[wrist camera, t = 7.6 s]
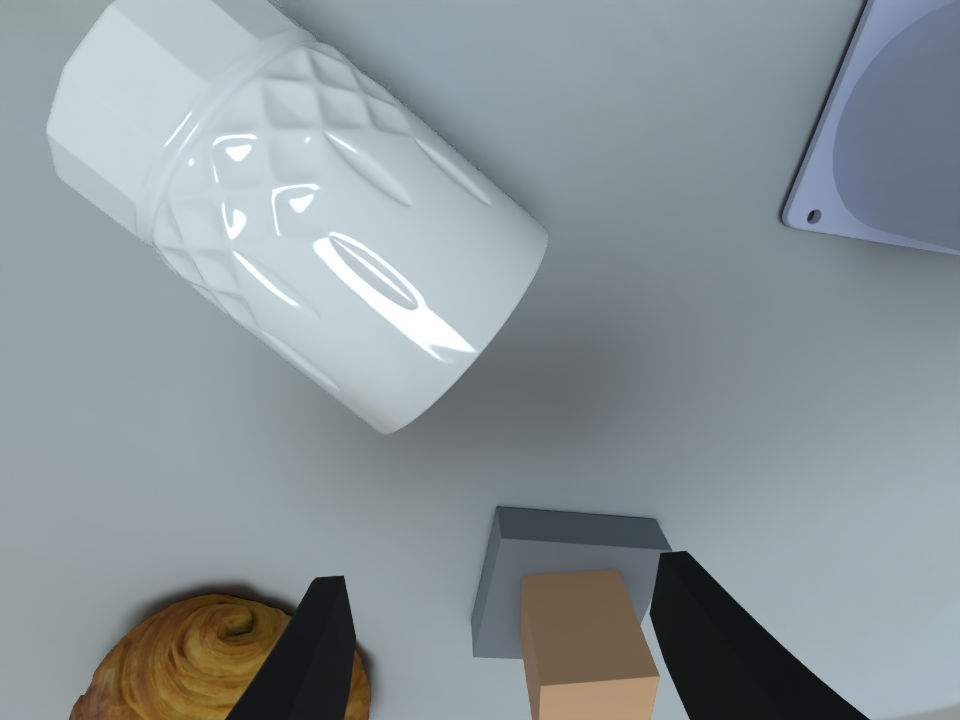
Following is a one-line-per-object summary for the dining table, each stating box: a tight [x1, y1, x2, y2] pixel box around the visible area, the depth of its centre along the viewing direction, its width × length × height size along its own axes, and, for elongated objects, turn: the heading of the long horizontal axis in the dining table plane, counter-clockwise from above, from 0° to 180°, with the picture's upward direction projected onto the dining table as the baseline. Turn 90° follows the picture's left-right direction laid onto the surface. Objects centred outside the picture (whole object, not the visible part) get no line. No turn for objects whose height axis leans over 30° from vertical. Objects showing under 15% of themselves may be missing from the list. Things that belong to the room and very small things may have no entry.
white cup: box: [46, 0, 549, 434], centre depth 14 cm, size 8×8×10 cm
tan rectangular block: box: [520, 569, 660, 720], centre depth 22 cm, size 4×4×5 cm
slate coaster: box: [471, 507, 672, 659], centre depth 25 cm, size 8×8×2 cm
